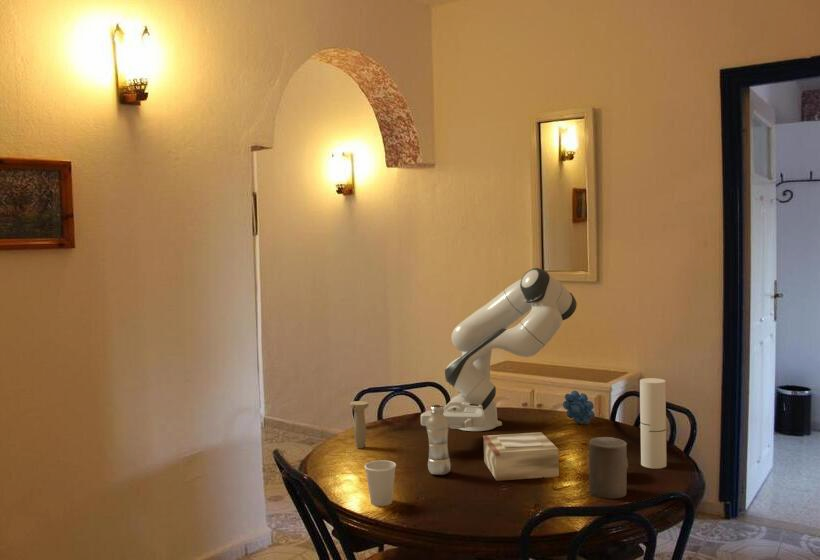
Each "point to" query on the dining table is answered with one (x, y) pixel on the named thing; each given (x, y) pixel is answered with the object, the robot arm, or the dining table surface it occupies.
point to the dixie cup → (380, 481)
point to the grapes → (578, 407)
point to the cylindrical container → (653, 422)
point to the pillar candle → (608, 467)
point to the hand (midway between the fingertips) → (448, 425)
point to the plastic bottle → (438, 441)
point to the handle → (359, 422)
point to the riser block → (521, 456)
